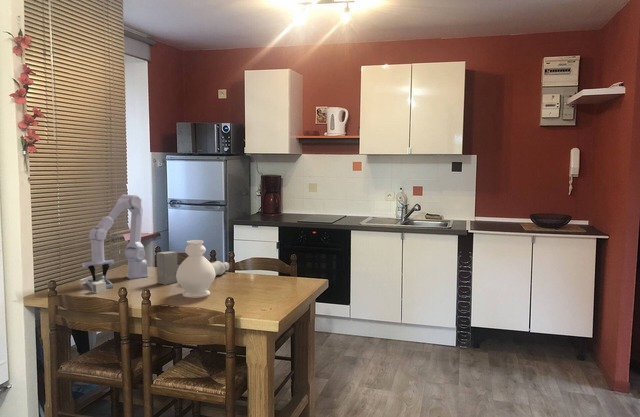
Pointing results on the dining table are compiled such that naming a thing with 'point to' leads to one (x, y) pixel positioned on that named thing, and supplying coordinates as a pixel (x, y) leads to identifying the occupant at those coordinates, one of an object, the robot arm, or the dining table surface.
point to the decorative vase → (195, 271)
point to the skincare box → (166, 267)
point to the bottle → (220, 267)
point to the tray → (108, 283)
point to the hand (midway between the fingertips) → (99, 279)
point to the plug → (99, 277)
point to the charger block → (99, 287)
